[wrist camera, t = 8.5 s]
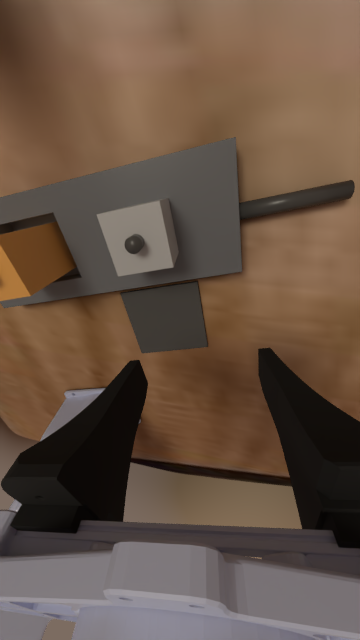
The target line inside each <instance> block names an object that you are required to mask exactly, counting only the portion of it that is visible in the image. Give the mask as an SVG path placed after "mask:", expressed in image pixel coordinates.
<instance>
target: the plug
mask: <svg viewBox="0 0 360 640" xmlns="http://www.w3.org/2000/svg"><path fill="white" fill-rule="evenodd" d="M76 267H77V265H76V263H75V261H74V259H73V256H72V254H71V252H70V250H69V247H68V245H67V243H66V240H65V238H64V236H63V234H62V231H61V229H60V227H59V225H58V222H53V223H48V224H44V225H40V226H35V227H31V228H27V229H22V230H18V231H14V232H10V233H5V234H1V235H0V301H4V300H10V299H16V298H22V297H28V296H32V295H33V294H35V293H36V292H38V291H39V290H41V289H43V288H44V287H46V286H47V285H49V284H50V283H52V282H54V281H55V280H57V279H58V278H60V277H61V276H63V275H65V274H66V273H68V272H69V271H71V270H72V269H74V268H76Z"/></svg>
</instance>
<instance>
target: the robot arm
mask: <svg viewBox="0 0 360 640" xmlns="http://www.w3.org/2000/svg"><path fill="white" fill-rule="evenodd" d="M258 356H259V378H260V382H261V386H262V390H263V393H264V396H265V399H266V401H267V404H268V407H269V409H270V412H271V415H272V417H273V420H274V423H275V425H276V428H277V431H278V434H279V437H280V441H281V445H282V449H283V452H284V456H285V460H286V464H287V467H288V471H289V475H290V479H291V483H292V487H293V491H294V495H295V499H296V504H297V508H298V512H299V517H300V521H301V525H302V529H284V528H260V527H237V526H211V525H187V524H162V523H137V522H123V516H124V506H125V496H126V489H127V481H128V474H129V468H130V461H131V455H132V450H133V444H134V439H135V435H136V431H137V428H138V424H140V422H141V419H140V417H141V413H142V410H143V406H144V403H145V399H146V393H147V386H148V382H147V379H146V377H145V374H144V371H143V369H142V366H141V363H140V361H139V360H134V361H130V362H129V363H128V364H127V365H126V366H125V367H124V368H123V369H122V371H121V372H120V373H119V374H118V375H117V376H116V377H115V379H114V380H113V381H112V382H111V383H110V384H109V385H108V386H107V387H106V388H98V389H84V390H70V391H66V392H65V393H64V394H65V396H66V400H65V401H64V403H63V404H62V406H61V407H60V409H59V411H58V412H57V414H56V415H55V417H54V418H53V420H52V421H51V423H50V425H49V426H48V428H47V429H46V431H45V432H44V434H43V436H42V438H41V440H40V442H39V443H37V444H35V445H34V446H32V447H30V448H29V449H27V450H25V451H24V452H22V453H20V455H19V456H18V458H17V459H16V461H15V462H14V464H13V465H12V466H11V468H10V469H9V471H8V472H7V474H6V475H5V477H4V478H3V480H2V482H1V486H2V488H3V490H4V491H5V492H6V493H7V494H9V495H10V496H11V497H13V498H14V501H13V503H12V504H11V506H10V508H9V510H0V640H42V637H43V635H44V632H45V629H46V627H47V624H48V623H49V622H50V621H51V620H52V619H60V620H66V621H72V622H76V625H75V629H74V632H73V636H72V639H71V640H360V422H359V421H358V420H356V419H354V418H353V417H351V416H350V415H348V414H346V413H345V412H343V411H342V410H340V409H339V408H337V407H336V406H334V405H333V404H331V403H330V402H328V401H327V400H326V399H324V398H323V397H322V396H320V395H319V394H318V393H316V392H315V391H314V390H313V389H311V388H310V387H309V386H308V385H307V384H306V383H304V382H303V381H302V380H301V379H300V378H299V377H298V376H297V375H296V374H295V373H293V372H292V371H291V370H290V369H289V368H288V367H287V366H286V365H285V364H284V363H283V362H282V360H281V359H280V358H279V357H278V356H277V355H276V354H275V353H274V352H273V350H272V349H271V348H262V349H258ZM245 556H247V557H245ZM251 557H262V559H257V558H251Z"/></svg>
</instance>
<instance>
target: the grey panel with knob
mask: <svg viewBox="0 0 360 640" xmlns="http://www.w3.org/2000/svg"><path fill="white" fill-rule="evenodd" d="M354 188H355V186H354V182H353V181H352V180H349V181H344V182H339V183H335V184H330V185H325V186H320V187H315V188H310V189H305V190H301V191H296V192H291V193H286V194H281V195H276V196H271V197H267V198H262V199H257V200H252V201H247V202H242V203H239V198H238V177H237V156H236V137H234V138H230V139H226V140H222V141H218V142H214V143H210V144H207V145H203V146H199V147H195V148H191V149H187V150H183V151H179V152H175V153H171V154H168V155H164V156H160V157H156V158H152V159H148V160H144V161H140V162H136V163H133V164H129V165H125V166H121V167H117V168H113V169H109V170H105V171H101V172H98V173H94V174H90V175H86V176H82V177H78V178H74V179H70V180H66V181H62V182H59V183H55V184H51V185H47V186H43V187H39V188H35V189H31V190H27V191H24V192H20V193H16V194H12V195H8V196H4V197H0V235H1V234H5V233H10V232H14V231H18V230H22V229H27V228H31V227H35V226H40V225H44V224H48V223H53V222H58V225H59V227H60V229H61V231H62V234H63V236H64V238H65V240H66V243H67V245H68V247H69V250H70V252H71V254H72V256H73V259H74V261H75V263H76V265H77V267H76V268H74V269H72V270H71V271H69V272H68V273H66V274H65V275H63V276H61V277H60V278H58V279H57V280H55V281H54V282H52V283H50V284H49V285H47V286H46V287H44V288H43V289H41V290H39V291H38V292H36V293H35V294H33V295H32V296H28V297H22V298H16V299H10V300H4V301H0V303H1V304H2V306H3V307H4V308H8V307H14V306H21V305H27V304H34V303H40V302H47V301H53V300H60V299H66V298H73V297H79V296H86V295H93V294H99V293H106V292H112V291H119V290H125V289H132V288H138V287H145V286H151V285H158V284H164V283H171V282H177V281H184V280H190V279H197V278H203V277H210V276H216V275H223V274H230V273H236V272H242V260H241V239H240V220H242V219H247V218H252V217H257V216H263V215H268V214H273V213H278V212H283V211H289V210H294V209H299V208H304V207H309V206H315V205H320V204H325V203H330V202H335V201H340V200H346V199H349V198H351V197H352V195H353V193H354Z"/></svg>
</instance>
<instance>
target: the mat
mask: <svg viewBox="0 0 360 640" xmlns="http://www.w3.org/2000/svg"><path fill="white" fill-rule="evenodd" d="M121 297H122V299H123V302H124V305H125V308H126V311H127V313H128V316H129V319H130V322H131V324H132V327H133V330H134V333H135V335H136V338H137V341H138V344H139V347H140V349H141V352H142V353H150V352H160V351H171V350H181V349H191V348H201V347H208V344H207V338H206V332H205V325H204V319H203V313H202V307H201V300H200V294H199V288H198V282H197V281H194V282H188V283H181V284H174V285H168V286H161V287H155V288H148V289H141V290H135V291H128V292H121Z"/></svg>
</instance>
